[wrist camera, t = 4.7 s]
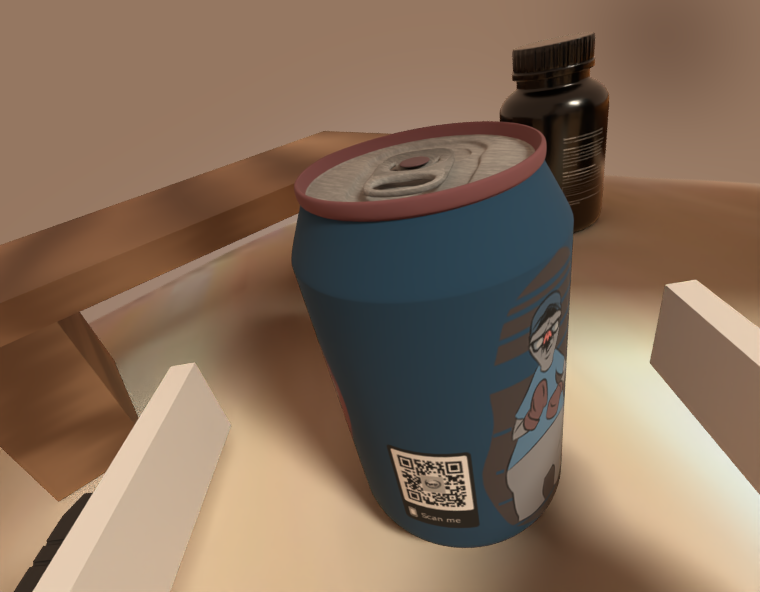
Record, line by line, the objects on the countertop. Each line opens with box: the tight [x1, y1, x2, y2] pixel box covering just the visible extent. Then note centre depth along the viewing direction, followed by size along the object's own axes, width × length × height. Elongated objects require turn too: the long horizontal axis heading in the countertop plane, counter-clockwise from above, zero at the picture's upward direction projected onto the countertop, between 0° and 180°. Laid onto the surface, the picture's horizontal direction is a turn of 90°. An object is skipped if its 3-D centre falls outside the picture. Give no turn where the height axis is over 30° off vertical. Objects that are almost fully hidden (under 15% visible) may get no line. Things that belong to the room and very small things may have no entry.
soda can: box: [292, 121, 574, 548], centre depth 13 cm, size 7×7×12 cm
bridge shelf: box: [0, 131, 390, 502], centre depth 25 cm, size 24×10×9 cm, turn 130°
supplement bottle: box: [500, 32, 609, 232], centre depth 29 cm, size 7×7×12 cm
